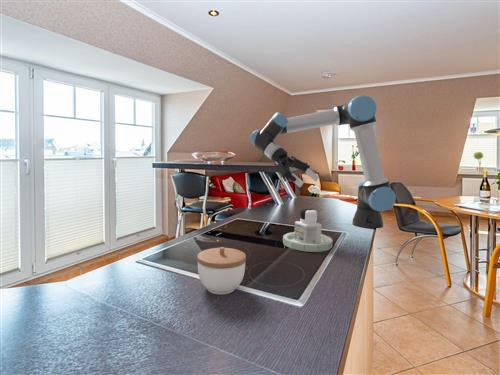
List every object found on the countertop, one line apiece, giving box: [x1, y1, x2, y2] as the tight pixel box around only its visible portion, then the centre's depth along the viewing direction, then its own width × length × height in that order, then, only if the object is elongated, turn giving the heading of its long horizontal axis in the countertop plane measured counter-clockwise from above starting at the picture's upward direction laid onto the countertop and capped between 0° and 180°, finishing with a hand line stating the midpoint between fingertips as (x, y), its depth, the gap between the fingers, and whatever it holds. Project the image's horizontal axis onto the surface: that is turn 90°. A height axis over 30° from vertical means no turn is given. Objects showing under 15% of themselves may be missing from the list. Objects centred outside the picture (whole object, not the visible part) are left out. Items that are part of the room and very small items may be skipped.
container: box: [293, 208, 323, 244], centre depth 122 cm, size 8×8×13 cm
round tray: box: [282, 231, 334, 253], centre depth 123 cm, size 19×19×2 cm
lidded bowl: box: [196, 246, 247, 296], centre depth 80 cm, size 13×13×11 cm
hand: (310, 182), depth 134 cm, fingers open, 13 cm apart
